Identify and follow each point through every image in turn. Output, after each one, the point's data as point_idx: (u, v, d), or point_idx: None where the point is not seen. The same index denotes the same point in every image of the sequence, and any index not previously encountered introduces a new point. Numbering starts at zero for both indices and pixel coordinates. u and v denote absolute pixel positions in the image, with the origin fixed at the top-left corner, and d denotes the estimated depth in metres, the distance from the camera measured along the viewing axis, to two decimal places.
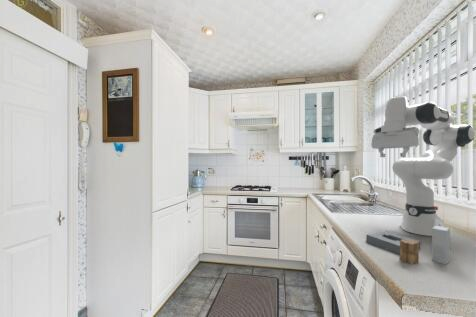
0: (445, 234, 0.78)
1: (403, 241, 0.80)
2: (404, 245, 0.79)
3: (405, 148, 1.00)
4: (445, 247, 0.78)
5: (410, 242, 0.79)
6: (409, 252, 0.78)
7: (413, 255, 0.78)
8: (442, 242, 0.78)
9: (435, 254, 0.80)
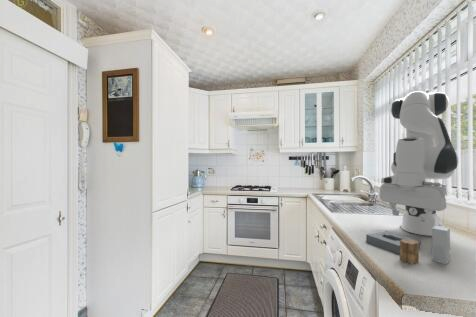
0: (445, 234, 0.78)
1: (403, 241, 0.80)
2: (404, 245, 0.79)
3: (427, 211, 0.74)
4: (445, 247, 0.78)
5: (410, 242, 0.79)
6: (409, 252, 0.78)
7: (413, 255, 0.78)
8: (442, 242, 0.78)
9: (435, 254, 0.80)
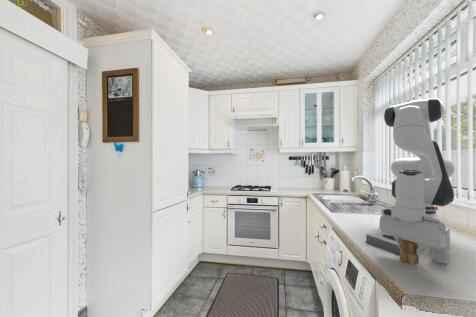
0: (445, 234, 0.78)
1: (403, 241, 0.80)
2: (404, 245, 0.79)
3: (420, 245, 0.76)
4: (445, 247, 0.78)
5: (410, 242, 0.79)
6: (409, 252, 0.78)
7: (413, 255, 0.78)
8: None
9: (435, 254, 0.80)
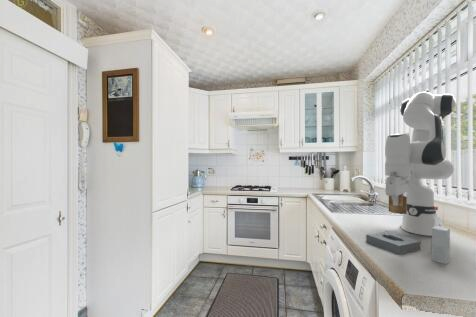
0: (445, 234, 0.78)
1: None
2: (389, 197, 0.93)
3: None
4: (445, 247, 0.78)
5: None
6: (391, 203, 0.92)
7: (393, 205, 0.91)
8: (442, 242, 0.78)
9: (435, 254, 0.80)
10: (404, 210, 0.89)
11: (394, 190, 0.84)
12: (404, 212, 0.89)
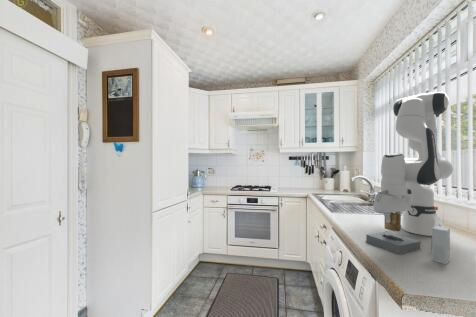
0: (445, 234, 0.78)
1: None
2: None
3: None
4: (445, 247, 0.78)
5: None
6: None
7: (386, 222, 0.95)
8: (442, 242, 0.78)
9: (435, 254, 0.80)
10: (397, 228, 0.92)
11: (380, 208, 0.90)
12: (397, 230, 0.92)
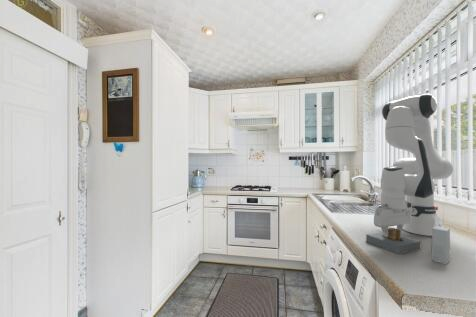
0: (445, 234, 0.78)
1: (389, 227, 0.97)
2: None
3: None
4: (445, 247, 0.78)
5: (389, 228, 0.95)
6: None
7: (386, 237, 0.95)
8: (442, 242, 0.78)
9: (435, 254, 0.80)
10: None
11: (380, 222, 0.90)
12: None
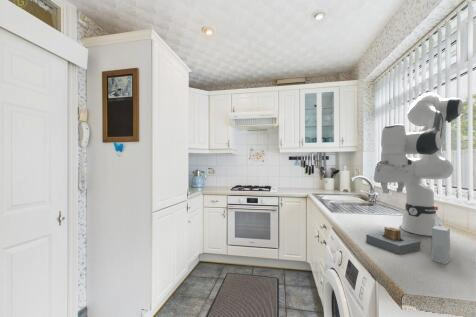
0: (445, 234, 0.78)
1: (389, 227, 0.97)
2: None
3: None
4: (445, 247, 0.78)
5: (389, 228, 0.95)
6: None
7: (386, 237, 0.95)
8: (442, 242, 0.78)
9: (435, 254, 0.80)
10: None
11: (380, 177, 0.90)
12: None
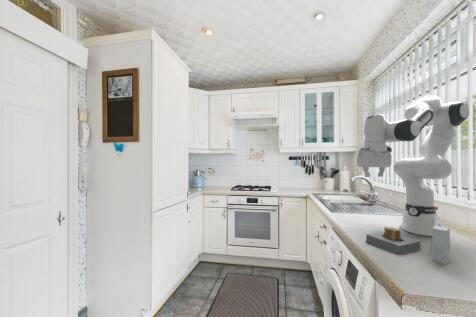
0: (445, 234, 0.78)
1: (389, 227, 0.97)
2: None
3: None
4: (445, 247, 0.78)
5: (389, 228, 0.95)
6: None
7: (386, 237, 0.95)
8: (442, 242, 0.78)
9: (435, 254, 0.80)
10: None
11: (362, 162, 1.00)
12: None
